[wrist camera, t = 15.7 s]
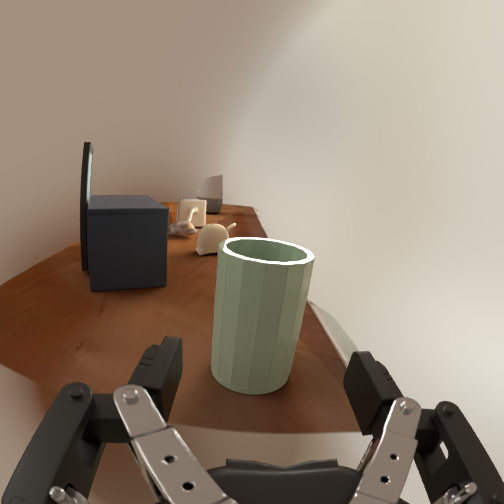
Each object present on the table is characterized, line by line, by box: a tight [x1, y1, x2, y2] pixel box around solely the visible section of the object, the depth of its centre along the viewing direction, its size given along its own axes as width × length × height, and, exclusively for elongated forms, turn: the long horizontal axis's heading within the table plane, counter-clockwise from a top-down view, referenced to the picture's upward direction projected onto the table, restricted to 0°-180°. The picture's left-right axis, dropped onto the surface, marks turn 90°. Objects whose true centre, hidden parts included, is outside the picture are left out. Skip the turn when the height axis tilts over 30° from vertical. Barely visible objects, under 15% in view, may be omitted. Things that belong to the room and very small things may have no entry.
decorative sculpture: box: [168, 199, 206, 236], centre depth 67 cm, size 16×10×7 cm, turn 1°
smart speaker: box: [197, 175, 222, 214], centre depth 100 cm, size 10×9×14 cm
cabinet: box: [87, 195, 169, 291], centre depth 38 cm, size 10×16×10 cm, turn 31°
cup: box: [211, 238, 314, 395], centre depth 20 cm, size 6×6×10 cm
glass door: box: [80, 142, 93, 271], centre depth 39 cm, size 1×16×18 cm, turn 31°
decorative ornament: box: [196, 223, 236, 255], centre depth 53 cm, size 4×8×5 cm, turn 122°
